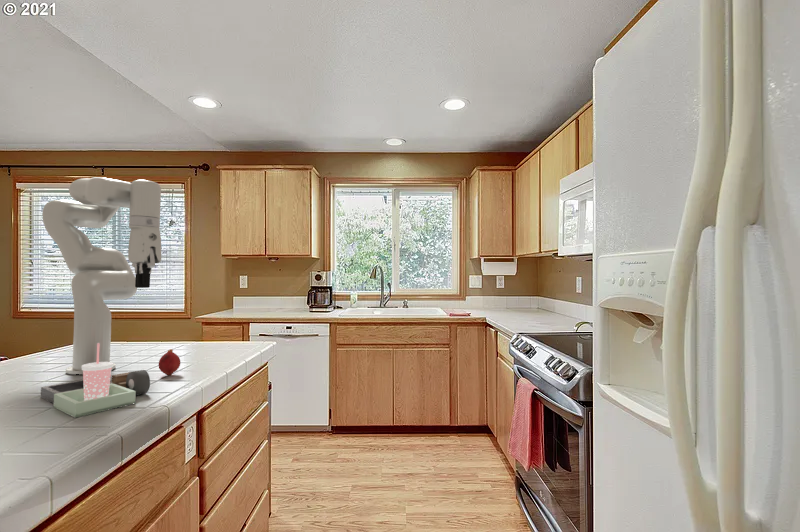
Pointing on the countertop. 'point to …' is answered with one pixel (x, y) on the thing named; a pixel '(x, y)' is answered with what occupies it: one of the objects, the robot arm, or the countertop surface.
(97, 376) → the beverage cup
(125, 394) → the tray
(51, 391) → the socket ring
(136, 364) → the countertop surface
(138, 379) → the caster wheel
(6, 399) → the countertop surface
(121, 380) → the block
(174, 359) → the onion
